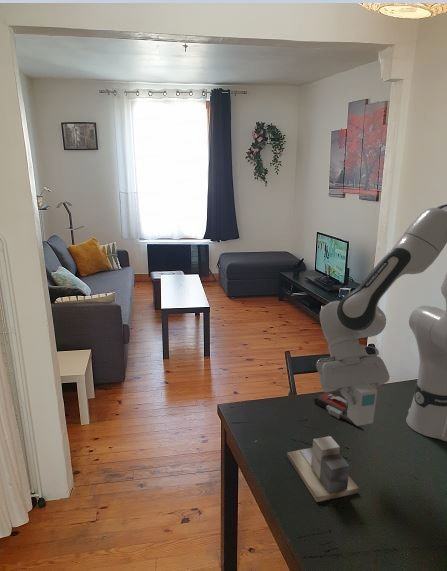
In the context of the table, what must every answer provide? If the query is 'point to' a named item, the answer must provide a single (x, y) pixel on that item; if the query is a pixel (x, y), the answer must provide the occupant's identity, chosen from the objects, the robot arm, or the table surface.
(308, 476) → the rail board
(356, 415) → the block
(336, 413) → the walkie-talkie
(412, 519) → the table surface
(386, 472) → the table surface
